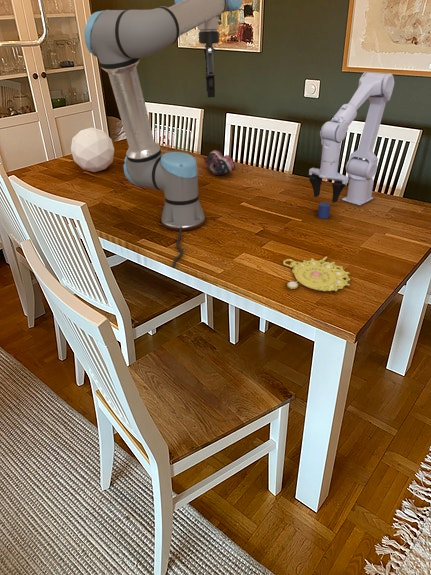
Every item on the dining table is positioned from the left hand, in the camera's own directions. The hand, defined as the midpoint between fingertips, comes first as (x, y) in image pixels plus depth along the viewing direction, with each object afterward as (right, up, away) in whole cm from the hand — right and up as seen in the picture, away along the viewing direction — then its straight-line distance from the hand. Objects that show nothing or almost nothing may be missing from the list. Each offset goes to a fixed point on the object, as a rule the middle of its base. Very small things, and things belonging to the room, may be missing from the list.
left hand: (210, 94), depth 171 cm
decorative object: (+30, -72, -48) cm, 91 cm away
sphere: (-54, -20, +38) cm, 69 cm away
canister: (+40, -50, -14) cm, 65 cm away
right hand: (+40, -44, -17) cm, 62 cm away
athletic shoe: (+3, -23, +30) cm, 38 cm away
